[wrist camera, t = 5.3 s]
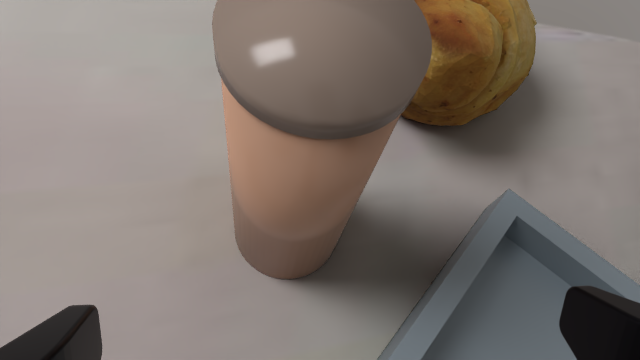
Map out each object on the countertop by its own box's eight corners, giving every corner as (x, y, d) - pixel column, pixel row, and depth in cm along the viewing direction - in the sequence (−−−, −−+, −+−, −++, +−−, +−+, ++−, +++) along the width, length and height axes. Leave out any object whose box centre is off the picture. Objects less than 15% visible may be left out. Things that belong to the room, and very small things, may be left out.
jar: (291, 304, 21) (343, 164, 9) (209, 231, 22) (162, 22, 10) (360, 225, 23) (471, 31, 12) (282, 162, 24) (311, -74, 13)
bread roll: (303, -2, 30) (320, -130, 23) (430, -26, 33) (480, -147, 26) (391, 165, 25) (447, 67, 18) (530, 120, 28) (626, 20, 21)
